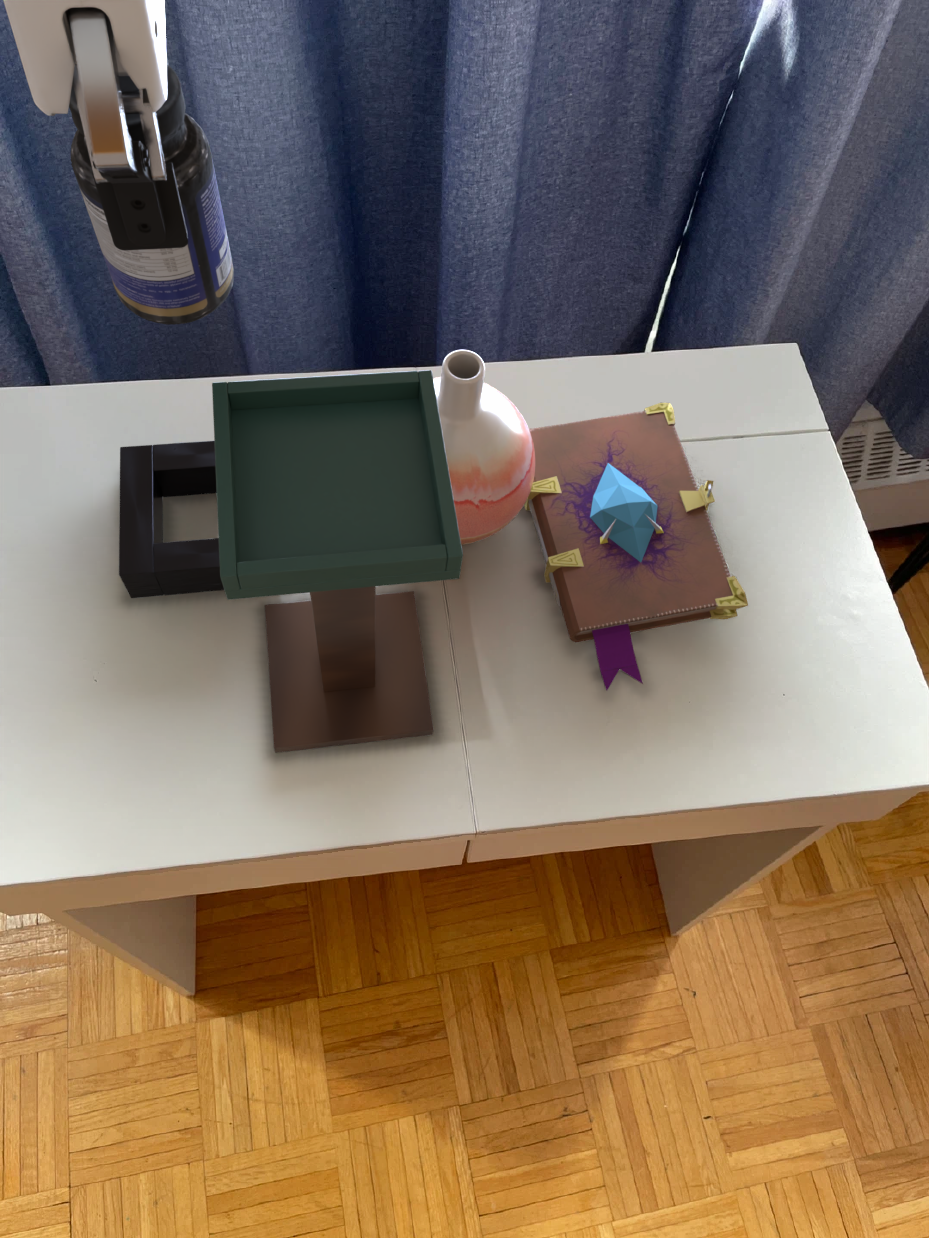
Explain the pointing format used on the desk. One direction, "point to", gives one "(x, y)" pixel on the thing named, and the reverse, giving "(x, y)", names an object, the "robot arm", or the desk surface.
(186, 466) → the holder
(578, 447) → the book
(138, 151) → the robot arm
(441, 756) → the desk surface
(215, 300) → the pill bottle
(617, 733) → the desk surface
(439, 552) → the tray
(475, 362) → the vase
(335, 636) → the stand
